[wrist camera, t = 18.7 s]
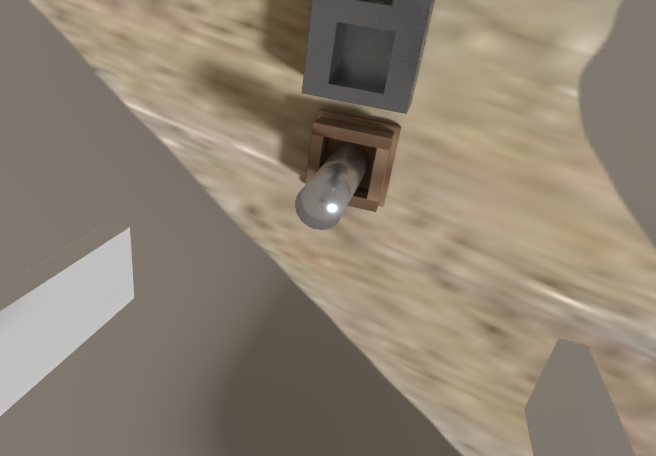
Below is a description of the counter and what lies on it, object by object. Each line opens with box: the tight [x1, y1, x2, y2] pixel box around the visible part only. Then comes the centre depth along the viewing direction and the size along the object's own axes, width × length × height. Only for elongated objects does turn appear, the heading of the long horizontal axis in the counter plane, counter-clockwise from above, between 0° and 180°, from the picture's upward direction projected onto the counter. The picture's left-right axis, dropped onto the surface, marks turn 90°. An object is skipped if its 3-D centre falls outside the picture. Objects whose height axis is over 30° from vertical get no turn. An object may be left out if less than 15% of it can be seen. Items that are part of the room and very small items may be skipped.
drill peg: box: [295, 142, 369, 230], centre depth 42 cm, size 4×4×14 cm
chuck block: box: [302, 0, 435, 114], centre depth 41 cm, size 13×10×6 cm
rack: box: [305, 110, 401, 212], centre depth 48 cm, size 9×9×4 cm
